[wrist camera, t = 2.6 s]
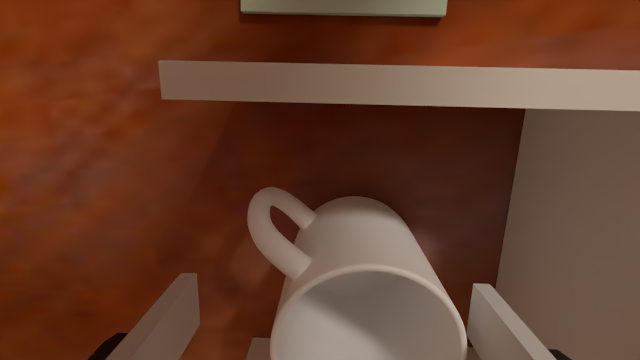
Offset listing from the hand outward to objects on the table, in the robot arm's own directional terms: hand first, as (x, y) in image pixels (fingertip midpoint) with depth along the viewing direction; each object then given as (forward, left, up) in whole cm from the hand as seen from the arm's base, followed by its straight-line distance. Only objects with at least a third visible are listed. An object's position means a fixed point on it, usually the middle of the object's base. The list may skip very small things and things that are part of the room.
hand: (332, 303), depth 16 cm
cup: (0, 0, -8) cm, 8 cm away
